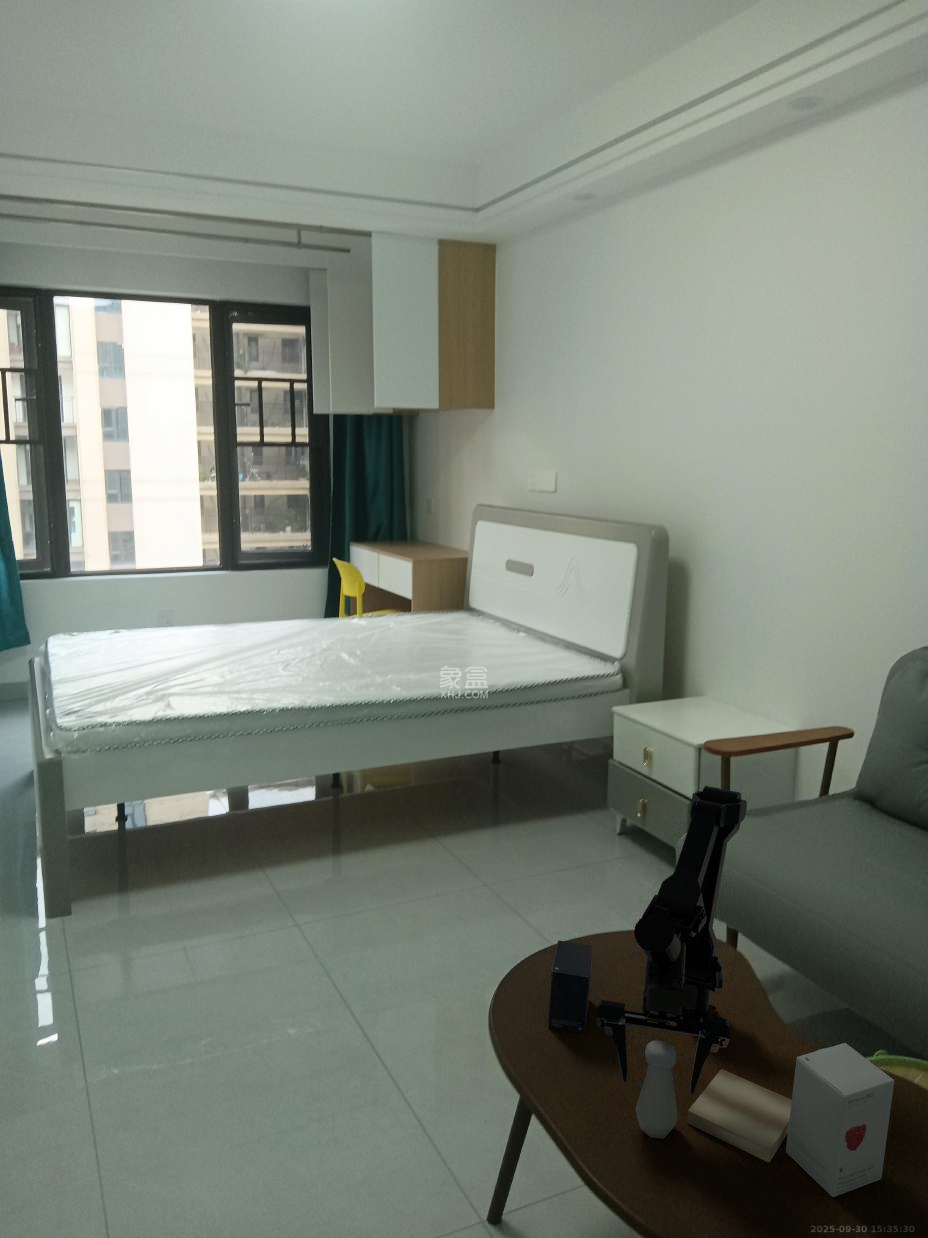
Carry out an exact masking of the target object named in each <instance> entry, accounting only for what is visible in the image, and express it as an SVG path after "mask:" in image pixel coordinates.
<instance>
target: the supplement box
mask: <svg viewBox="0 0 928 1238" xmlns="http://www.w3.org/2000/svg"><path fill="white" fill-rule="evenodd" d="M894 1087H895V1079H893V1078H892V1077H891V1076H890V1075H888V1074H887V1073H885V1072H884V1071H883V1070H882V1069H880V1068H878V1067H877V1066H876V1065H875V1064H873V1063H872V1062H871V1061H869V1060H868V1059H867V1058H866V1057H864V1056H863V1055H862V1054H860V1053H859V1052H858V1051H857V1050H855V1049H854V1047H851V1046H850V1045H849V1044H847V1043H846V1042H844V1043H840V1044H837V1045H834V1046H830V1047H825V1048H820V1049H817V1050H815V1051H813V1052H810V1053H806V1054H802V1055H800V1056H796V1062H795V1070H794V1080H793V1087H792V1096H791V1100H792V1103H791V1111H790V1119H789V1128H788V1134H787V1135H786V1137H787V1138H786V1144H785V1145H786V1146H785V1153H786V1154H787V1155H788V1156H789V1157H790V1158H791V1159H792V1160H793V1161H794V1162H796V1164H798V1165H799V1166H800V1167H801V1168H802V1169H803V1170H804V1171H805V1172H806V1174H808V1176H810V1177H811V1178H812V1179H813V1180H814V1181H815V1182H816V1183H817V1184H818V1185H819V1186H820V1187H821V1188H822V1189H824V1190H825V1192H826V1193H828V1195H829V1196H831V1197H832V1198H835V1197H838V1196H840V1195H844V1194H845V1193H849V1192H851V1191H854V1190H856V1189H859V1188H862V1187H864V1186H866V1185H870V1184H871V1183H874V1182H878V1181H880V1180H882V1178H883V1169H884V1160H885V1154H886V1146H887V1145H886V1144H887V1140H888V1139H887V1137H888V1132H889V1131H888V1130H889V1123H890V1116H891V1109H892V1101H893V1093H894Z"/></svg>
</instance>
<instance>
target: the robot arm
mask: <svg viewBox="0 0 928 1238" xmlns="http://www.w3.org/2000/svg"><path fill="white" fill-rule="evenodd" d="M747 806H748V801H747V800H746V799H742V793H741V792H740V791H734V790H729V789H724V788H719V787H715V786H709V785H704V787H703V789H702V791H701V790H696V791H695V792H693V793H692V795H691V804H690V813H689V815H690V823H689V826H688V829H687V832H686V834H685V838H684V842H683V844H682V847H681V851H680V852H679V853H680V854H679V856H678V860H677V863H676V866H675V869H674V871H673V873H672V874H671V875H670V876H668V877H667V878H665V879H664V880H662V882H661V884H660V887H659V890H658V892H657V894H654V896H653V897H652V899H651V900H650V902H649V904H648V905H647V907H646V909H645V910H644V912H643V914H642V916H641V918H639V920H638V921H637V923H635V926H634V932H633V933H634V938H635V941H636V943H637V945H638V946H639V949H640V950H641V952H642V953H643V955H644V956H645V958H646V959H645V960H646V961H645V972H644V973H645V975H644V989H643V996H642V998H643V999H642V1012H637V1011H630V1010H626V1003H623V1002H618V1001H613V1000H612V1001H611V1000H605V999H601V1000H600V1001H599V1002H598V1003H597V1005H596V1016H595V1019H596V1021H595V1022H596V1027H597V1028H599V1029H604V1035H607V1036H609V1037H611V1038H612V1040H613V1044H614V1047H615V1049H616V1052H617V1057H618V1062H619V1068H620V1070H621V1071H620V1072H621V1078H622V1081H623V1084H626V1083H627V1080H628V1079H627V1078H628V1063H627V1062H628V1060H627V1059H628V1056H627V1039H626V1037H627V1035H626V1026H633V1027H639V1028H646V1029H651V1030H652V1029H653V1030H658V1031H664V1032H670V1033H676V1034H684V1035H689V1036H695V1037H698V1041H697V1044H696V1049H695V1054H694V1060H693V1066H692V1067H693V1068H692V1071H691V1078H690V1083H689V1084H690V1085H689V1087H690V1089H689V1090H690V1092H689V1094H690V1095H692V1096H693V1095H694V1094H695V1090H696V1087H697V1084H698V1081H699V1078H700V1076H701V1073H702V1070H703V1067H704V1064H705V1063H706V1061H707V1059H708V1057H709V1055H710V1053H718V1051H719V1049H720V1048H722V1049H723V1048H728V1045H729V1043H730V1040H731V1024H730V1023H729V1021H728V1019H726V1018H722V1017H715V1016H713V1015H714V1014H715V1013H716V1012H717V1006H715V1005H712V1004H711V1003H710V1002H711V992H714V993H716V992H717V990H719V989H723V988H724V982H725V981H724V980H725V979H724V976H725V975H724V969H725V968H724V964H723V961H722V959H721V957H720V956H719V950H720V944H719V941H718V939H717V936H716V934H715V931H714V929H713V927H714V922H715V917H716V916H715V915H716V910H717V904H718V898H719V892H720V886H721V882H722V875H723V871H724V870H723V868H724V864H725V858H726V851H727V846H728V843H729V842H730V840H731V839H733V837H734V836H735V835H736V834H737V833H738V832H739V831H740V828H741V823H742V822H743V821H744V820H745V818H746V813H747V809H748V808H747ZM673 1024H674V1025H673Z"/></svg>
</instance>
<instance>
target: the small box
mask: <svg viewBox="0 0 928 1238" xmlns="http://www.w3.org/2000/svg"><path fill="white" fill-rule="evenodd" d="M554 952H555V954H554V958H553V962H552V967H551V974H550V989H549V1004H548V1006H549V1007H548V1018H547V1028H549V1029H550V1028H551V1029H556V1030H563V1031H568V1032H569V1031H570V1032H574V1033H582V1034H583V1033H585V1029H586V1023H587V1017H588V1011H589V1004H590V995H591V986H592V985H591V984H592V968H593V945H590V944H585V943H577V942H571V941H567V940H566V941H565V940H557V944H556V949H555V951H554Z"/></svg>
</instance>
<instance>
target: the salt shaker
mask: <svg viewBox="0 0 928 1238" xmlns="http://www.w3.org/2000/svg"><path fill="white" fill-rule="evenodd" d="M644 1051H645V1052H644V1055H645V1056H644V1057H645V1060H646V1063H647V1064H648V1067H647V1070H646V1072H645V1076H644V1080H643V1084H642V1086H641V1090H640V1093H639V1096H638V1100H637V1103H636V1107H635V1113H636V1119H637V1121H638V1125H639V1127H640V1130H641V1131H642V1132H643V1133H645V1134H646V1135H647V1136H648V1137H649V1138H651V1139H653V1138H655V1139H665V1138H666V1137H667V1136H668V1134H670V1133H671V1131H672V1130H673V1129H674V1127H675V1126H676V1124H677V1122H678V1119H679V1118H678V1109H677V1108H678V1106H677V1099H676V1098H677V1097H676V1092H675V1085H674V1084H675V1083H674V1076H673V1068H674V1066H675V1064H676V1062H677V1057H678V1056H677V1055H678V1054H677V1050H676V1047H674V1046H673V1045H672V1043H670V1042H668V1041H667V1040H662V1039H654V1040H652V1041H650V1042H648V1043H647V1045H646V1047H645V1050H644Z"/></svg>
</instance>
